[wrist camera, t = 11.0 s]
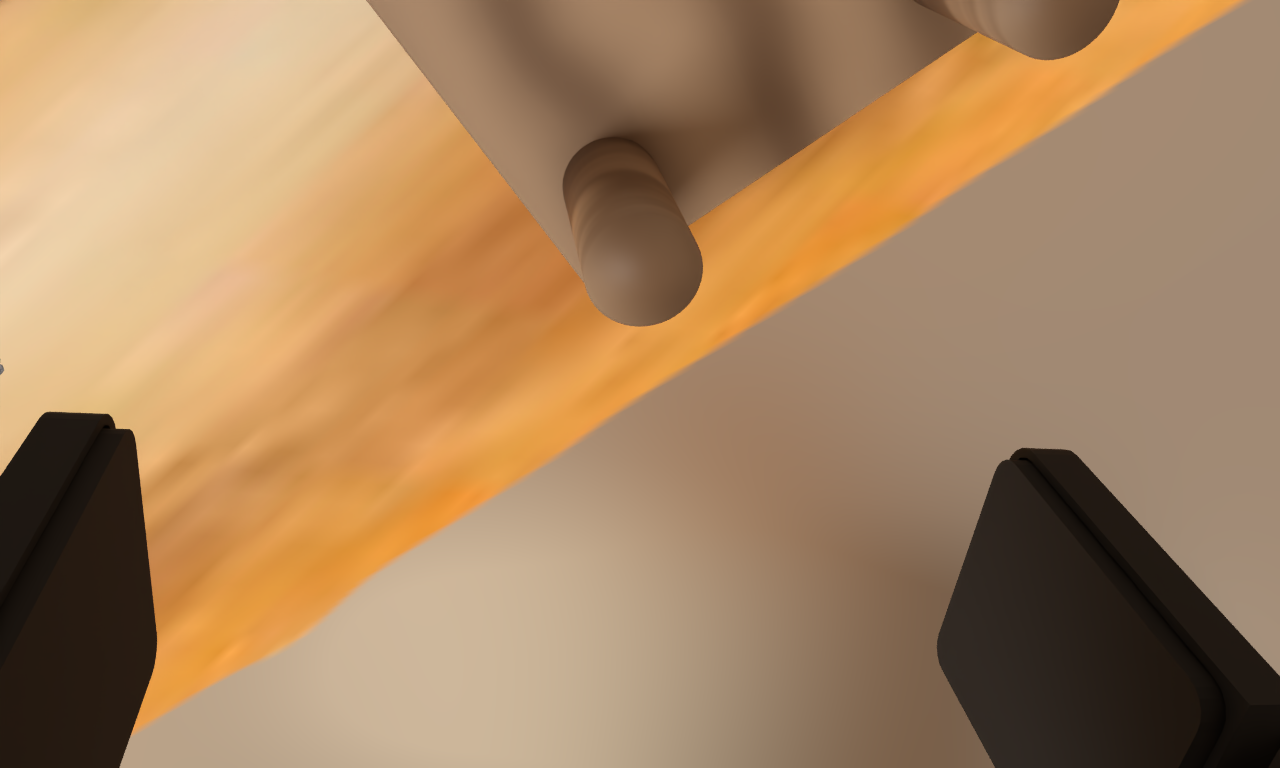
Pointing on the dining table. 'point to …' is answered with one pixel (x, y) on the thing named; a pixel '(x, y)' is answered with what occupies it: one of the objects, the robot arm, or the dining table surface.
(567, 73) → the stool
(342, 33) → the dining table surface
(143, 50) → the dining table surface
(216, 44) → the dining table surface
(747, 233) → the dining table surface
